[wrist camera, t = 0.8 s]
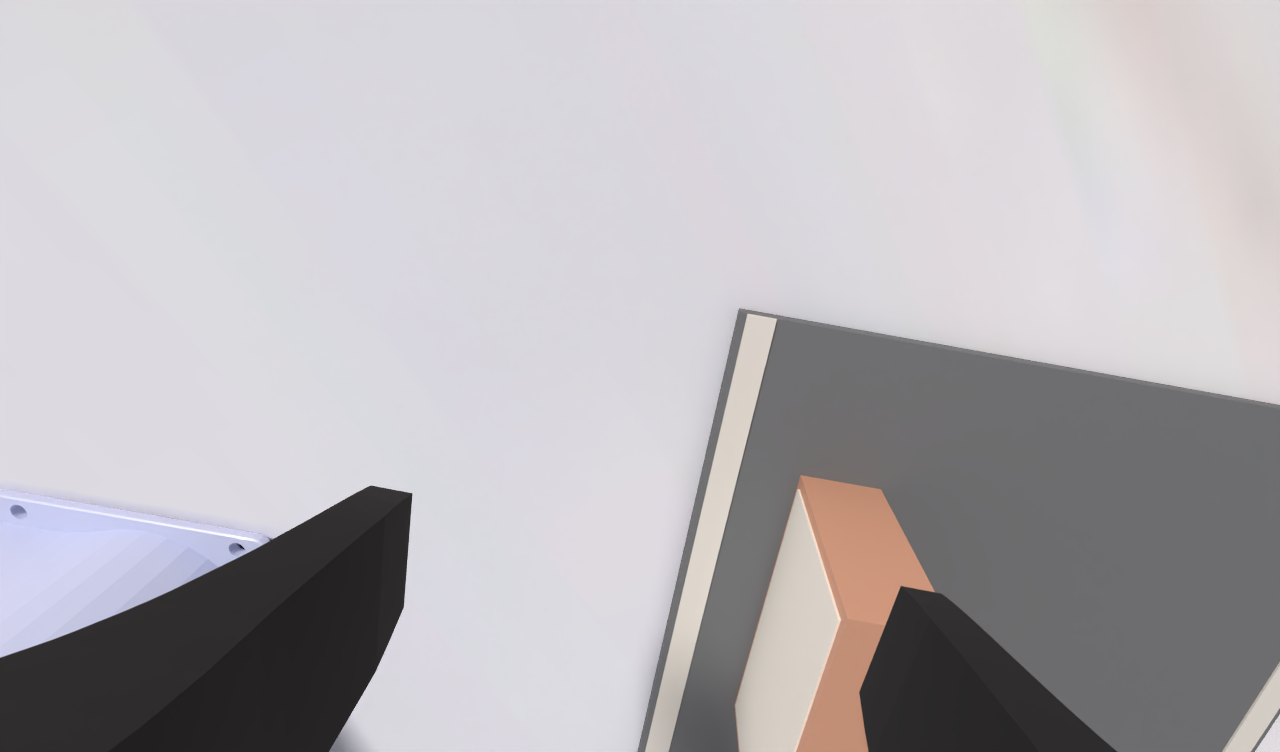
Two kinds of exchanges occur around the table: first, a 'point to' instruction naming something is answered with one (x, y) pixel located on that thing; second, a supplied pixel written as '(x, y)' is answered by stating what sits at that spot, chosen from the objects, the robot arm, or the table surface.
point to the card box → (823, 620)
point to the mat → (999, 527)
